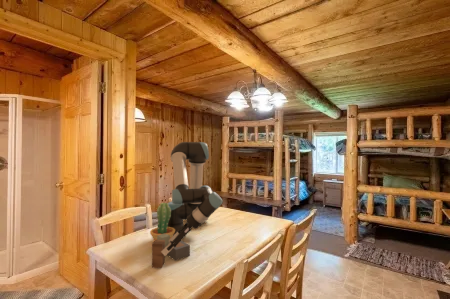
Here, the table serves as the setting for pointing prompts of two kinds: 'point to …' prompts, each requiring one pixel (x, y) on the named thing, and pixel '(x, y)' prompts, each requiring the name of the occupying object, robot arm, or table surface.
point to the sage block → (164, 238)
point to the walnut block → (158, 254)
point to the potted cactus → (163, 222)
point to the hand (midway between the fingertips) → (166, 247)
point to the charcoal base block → (180, 251)
